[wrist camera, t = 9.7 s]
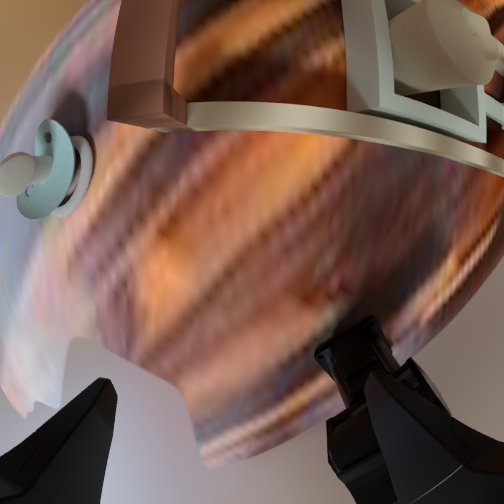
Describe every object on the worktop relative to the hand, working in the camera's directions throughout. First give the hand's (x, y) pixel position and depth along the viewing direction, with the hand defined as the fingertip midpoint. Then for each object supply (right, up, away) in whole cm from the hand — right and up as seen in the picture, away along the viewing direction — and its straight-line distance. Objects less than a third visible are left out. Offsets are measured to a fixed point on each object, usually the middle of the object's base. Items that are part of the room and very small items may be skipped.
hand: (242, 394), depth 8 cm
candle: (+10, +19, +7) cm, 22 cm away
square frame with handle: (+18, +19, +7) cm, 27 cm away
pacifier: (-14, +11, +8) cm, 19 cm away
